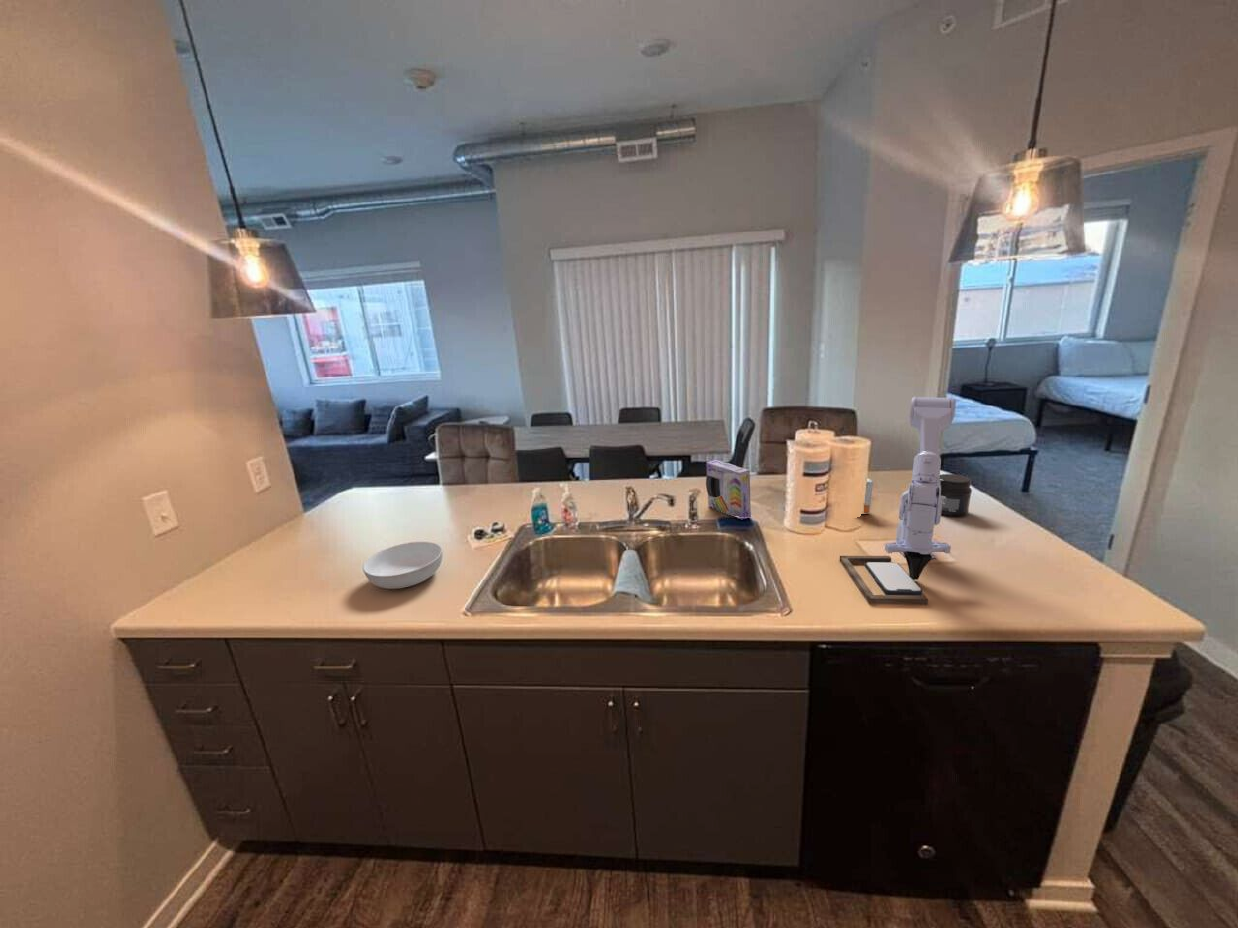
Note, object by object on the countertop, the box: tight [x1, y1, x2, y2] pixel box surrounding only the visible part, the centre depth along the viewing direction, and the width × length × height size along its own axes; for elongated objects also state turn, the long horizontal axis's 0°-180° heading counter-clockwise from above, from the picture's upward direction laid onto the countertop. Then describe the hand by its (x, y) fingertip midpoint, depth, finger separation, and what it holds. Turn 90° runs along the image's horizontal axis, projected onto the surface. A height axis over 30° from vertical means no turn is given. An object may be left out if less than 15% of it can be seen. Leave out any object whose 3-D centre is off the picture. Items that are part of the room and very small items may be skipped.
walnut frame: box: [838, 555, 929, 606], centre depth 127 cm, size 22×13×2 cm, turn 174°
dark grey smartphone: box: [864, 561, 924, 595], centre depth 127 cm, size 9×2×16 cm
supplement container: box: [940, 473, 973, 518], centre depth 165 cm, size 10×10×12 cm
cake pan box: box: [705, 459, 752, 517], centre depth 174 cm, size 19×5×18 cm, turn 28°
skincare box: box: [864, 477, 874, 515], centre depth 168 cm, size 6×4×12 cm
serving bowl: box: [362, 541, 443, 590], centre depth 141 cm, size 21×21×7 cm
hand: (913, 577), depth 126 cm, fingers closed
